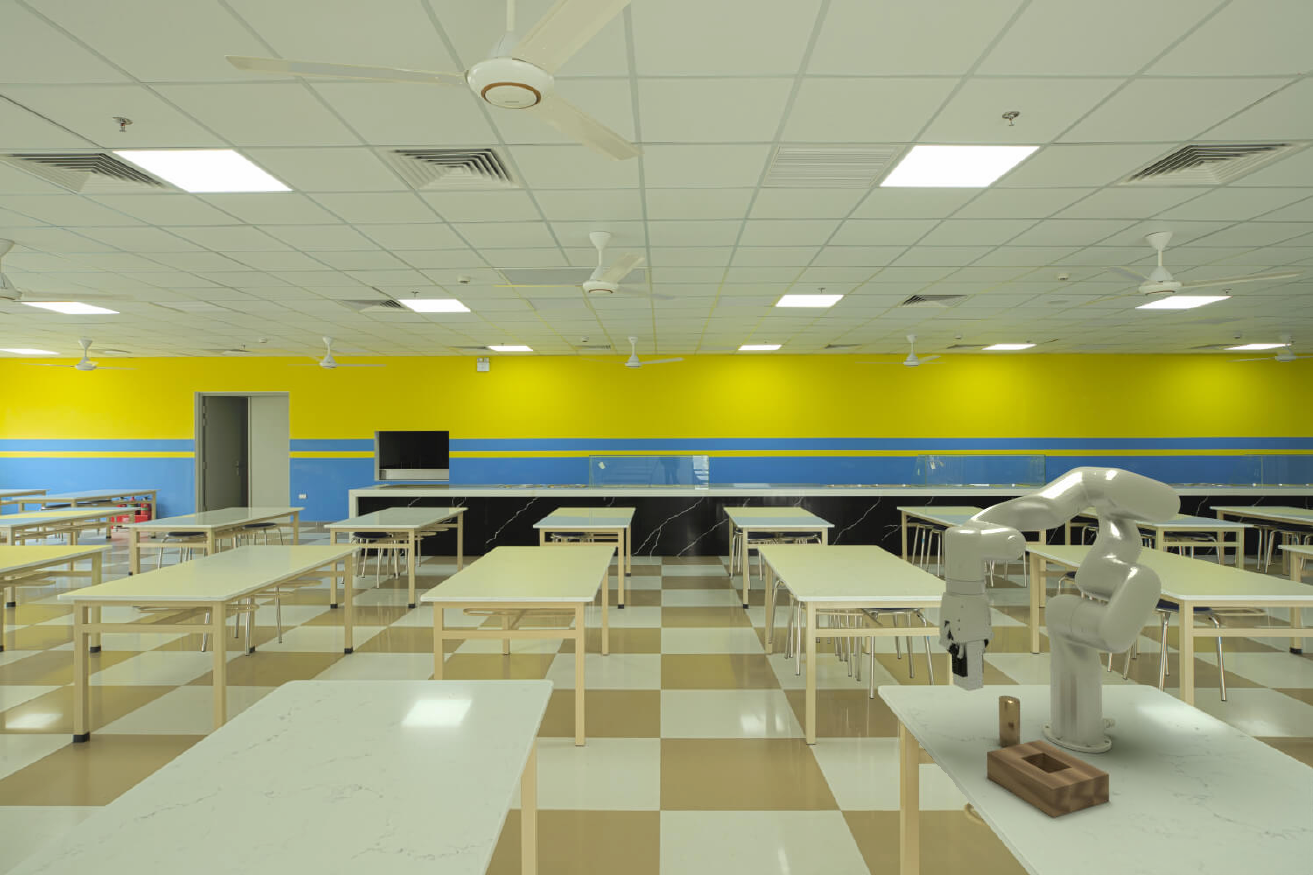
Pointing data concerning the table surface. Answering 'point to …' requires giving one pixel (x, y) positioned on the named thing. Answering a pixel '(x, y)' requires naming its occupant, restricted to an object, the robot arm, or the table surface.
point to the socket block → (1048, 777)
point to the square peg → (971, 667)
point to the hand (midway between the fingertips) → (967, 672)
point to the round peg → (1009, 721)
